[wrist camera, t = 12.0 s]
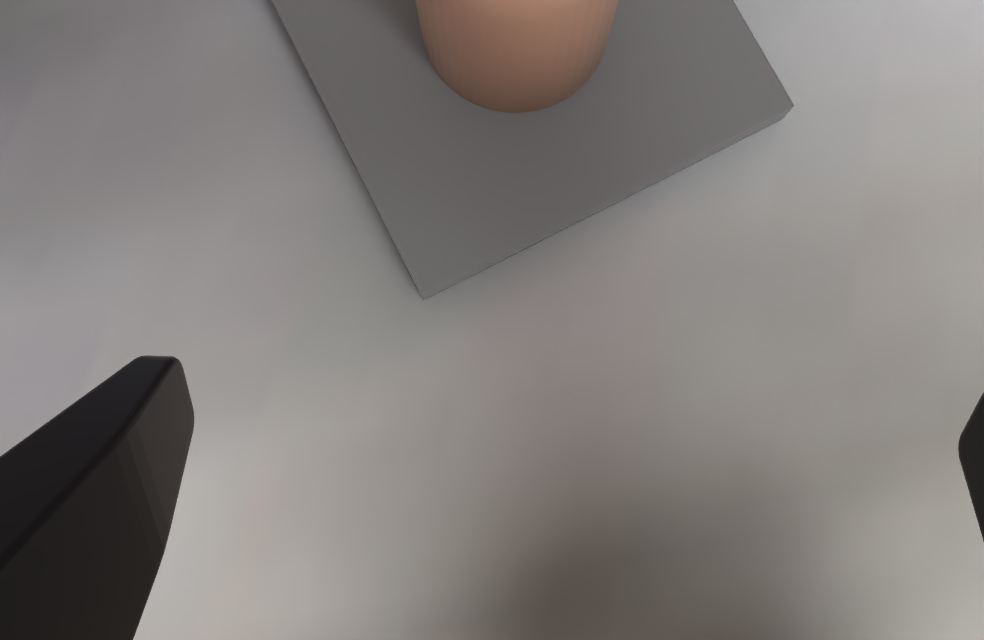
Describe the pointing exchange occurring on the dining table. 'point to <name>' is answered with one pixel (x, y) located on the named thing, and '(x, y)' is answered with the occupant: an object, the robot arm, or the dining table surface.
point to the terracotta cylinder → (515, 48)
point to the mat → (526, 124)
